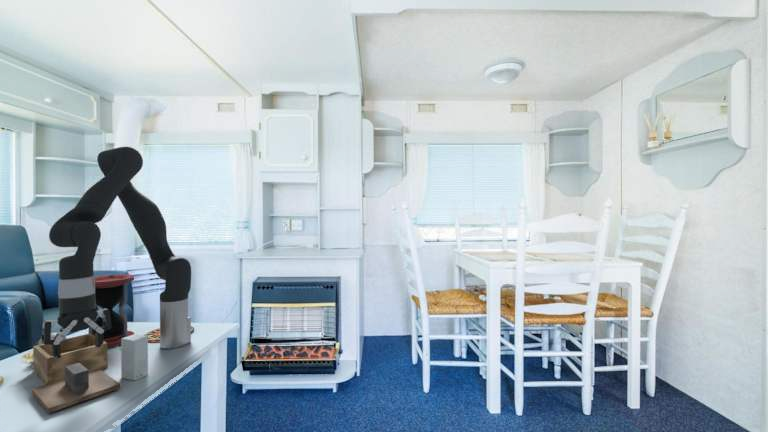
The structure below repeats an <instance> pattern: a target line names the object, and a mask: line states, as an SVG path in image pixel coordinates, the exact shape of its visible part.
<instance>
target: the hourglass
mask: <svg viewBox="0 0 768 432" xmlns="http://www.w3.org/2000/svg"><path fill="white" fill-rule="evenodd" d="M94 281H95V301H96V311H99V308H101V309H104V308H106V309H108V310H110V316H111V326H112V328H111V329H110V330H106V331H105V332H104V333H103V341H105V342H106V343H107V349H109V348H110V349H111V348H115V347H118V346H121V339H122V338H125V337H128V336H131V335H134V334H135V333H134V331H132V330H128V318H127V311H126V310H125V306H126V305H127V302H128V283H130V282H133V281H135V275H134V274H127V273H124V274H120V273H119V274H107V275H98V276H94ZM117 305H118V312H119V313H118V312H116V311H115V310H113V309H114V308H115V307H116V306H117ZM98 307H99V308H98ZM93 322H94V323H96V324H97V325H98V326H99V327H102V326H103V318H102V317H100V315H98V316H97V317H96V319H95V320H94V321H93ZM90 333H91V334H92V335H94V336H95V333H96V331H95V330H93V329H92V328H91V327H88V334H90Z"/></svg>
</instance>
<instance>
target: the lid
mask: <svg viewBox="0 0 768 432" xmlns="http://www.w3.org/2000/svg"><path fill="white" fill-rule="evenodd" d="M119 389H121V383H120V382H118V381H117V379H114V378H113V377H111V376H110V375H109V374H107V373H106V372H104V371H103V369H102V370H100V369H97V370H93V371H90V372H89V370H88V369H87V368H85V367H84V366H83V365H81V364H80V363H77V364H73V365H69V366H66V367H65V379H63V380H60V381H57V382H53V383H50V384H47V385H46V384H44V385H41V386H37V387H33V388H32V389H31V394H32V395H33V396H34V398H35V399H36V400H37V402H39V404H40V405H41V406H42V407H43V408H44V409H45V411H46V412H47V413H48V414H50V413H53V412H54V413H55V412H57V411H59V410H62V409H65V408H68V407H71V406H74V405H76V404H79V403H81V402H84V401H87V400H90V399H93V398H96V397H99V396H101V395H105V394H107V393H108V394H109V393H110V392H113V391H116V390H119Z"/></svg>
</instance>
